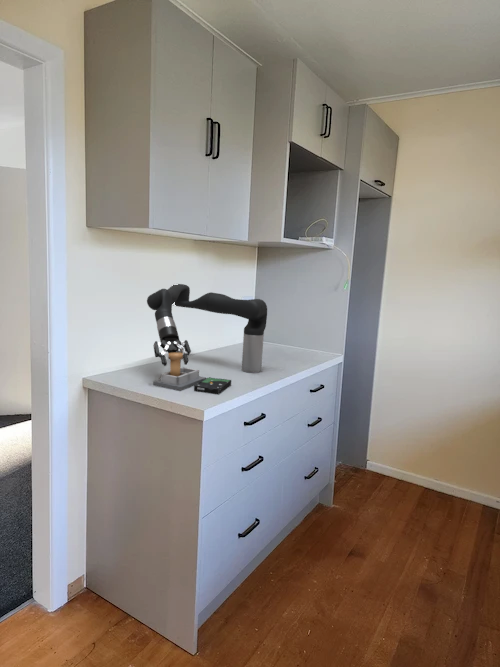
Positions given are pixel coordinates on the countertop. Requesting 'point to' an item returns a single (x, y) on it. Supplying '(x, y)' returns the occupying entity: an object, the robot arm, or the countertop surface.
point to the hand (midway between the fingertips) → (176, 364)
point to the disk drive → (212, 385)
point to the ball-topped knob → (175, 363)
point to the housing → (179, 379)
